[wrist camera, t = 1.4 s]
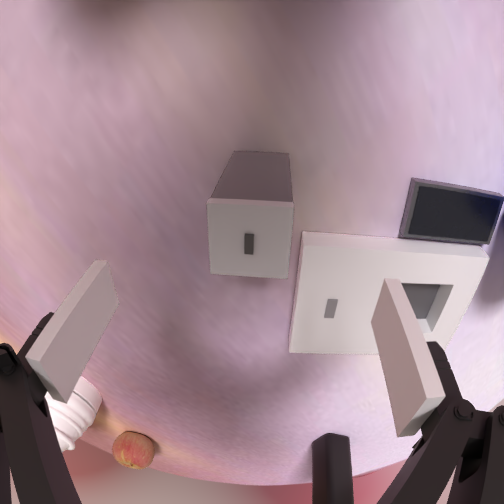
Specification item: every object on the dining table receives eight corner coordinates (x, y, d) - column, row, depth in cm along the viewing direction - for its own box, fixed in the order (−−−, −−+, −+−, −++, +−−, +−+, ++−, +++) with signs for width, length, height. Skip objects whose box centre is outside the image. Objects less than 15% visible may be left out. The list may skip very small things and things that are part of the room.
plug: (233, 150, 26) (205, 204, 17) (289, 152, 26) (294, 209, 17) (233, 200, 29) (209, 276, 19) (285, 203, 29) (287, 281, 19)
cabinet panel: (302, 231, 30) (303, 246, 28) (479, 245, 29) (490, 258, 27) (289, 336, 37) (288, 353, 35) (438, 337, 36) (444, 352, 34)
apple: (113, 422, 57) (102, 453, 50) (151, 430, 56) (142, 463, 49) (127, 440, 62) (118, 468, 55) (163, 447, 61) (155, 477, 54)
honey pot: (64, 399, 55) (34, 467, 40) (33, 359, 48) (-8, 433, 33) (112, 409, 53) (85, 487, 38) (83, 369, 47) (42, 457, 32)
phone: (411, 177, 26) (416, 181, 25) (499, 193, 25) (505, 197, 25) (399, 231, 29) (402, 237, 28) (484, 239, 28) (489, 245, 27)
